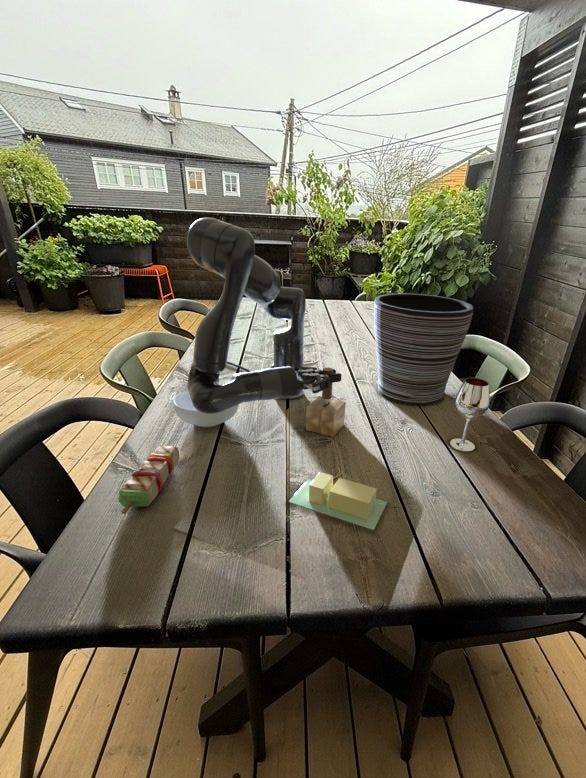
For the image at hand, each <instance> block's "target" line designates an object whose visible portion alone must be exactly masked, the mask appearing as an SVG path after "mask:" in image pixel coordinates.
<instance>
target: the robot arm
mask: <svg viewBox="0 0 586 778" xmlns="http://www.w3.org/2000/svg"><path fill="white" fill-rule="evenodd" d="M186 245H187V246H186V247H187V250H188V253H189V255H190V257H191V259H192V260H193V261H194V263H195V264H196V265H198V266H199V267H200V268H203V269H204V270H207V271H210V272H212V273H215V274H216V275H218V276H220V277H222V278H223V279H224V281H223V282H224V283H223V289H222V293H221V295H220V297H219V299H218V300H217V302H216V303H215V304H214V306H213V307H212V308H211V309H210V310H209V312H207V314H206V315H204V317H203V318H202V319H201V321H200V323H199V324H198V326H197V329H196V331H195V332H196V333H195V337H194V344H193V345H194V346H193V359H192V363H191V365H190V369H189V372H188V376H187V390H188V392H189V395H190V398H191V401H192V404H193V406H194V407H195V409H196V410H198V411H199V412H202V413H207V414H213V413H218V412H221V411H224V410H226V409H229V408H231V407H234V406H236V405H238V404H239V405H240V404H243V403H250V402H256V401H257V402H258V401H271V400H276V399H283V400H295V399H299V398H301V397H302V396H303V395H304V391H305V390H311V392H312V394H318V393H320V392H322V390H325V389H327V388H329V383H332V384H333V383H341V381H342V373H340V372H337V370H336V369H335V368H332V369H333V374H328V375H327V374H326V375H323V369H321V368H318V367H315V366H304V340H305V339H304V337H305V322H306V321H305V319H306V304H307V303H306V302H307V300H306V299H307V298H306V294H305V291H304V290H303V289H302V288H299V287H289V286H282V282H281V278H280V276H279V274H278V272H277V271H276V270H275V269H274V268H273V267H272V266H271V264H269V263H268V262H267V261H266V260H264V259H263V258H261V257H259V256H258V255H256V244H255V239H254V236H253V235H252V233H251V232H250V231H249V230H247V229H245V228H242V227H239V226H238V225H234V224H232V223H228V222H226V221H223V220H221V219H217V218H215V217H201V218H199V219H196V220H195V221H194V222H193V223H192V224H191V225H190V227H189V229H188V231H187V235H186ZM244 296H245V297H246V298H248V299H250V300H251V301H253V302H254V303H256V304H257V305H259V306H260V307H261V308H262V309H263V310H264V311H265V313H267V314H268V316H270V317H271V318H273V319H276V320H285V321H290V326H287V327H285V328H280V329H277V330H276V331H274V332H273V333H272V334H273V335H272V351H273V353H272V354H273V359H272V360H273V364H271V365H270V367H269V368H263V369H259V370H255V371H253V370H250V369H248V368H247V367H244V366H242V365H239V364H236V363H234V362H231V361H228V357H229V350H230V344H231V338H232V333H233V330H234V327H235V322H236V319H237V316H238V313H239V309H240V306H241V303H242V301H243V297H244ZM227 365H230V366H232V367H235V368H238V369H241V370H242V371H244V372H238V373H234V374H233V375H232V376H231V378H230V381H229V382H227V383H224V384H220V374H221V373H222V372H223V371H224V370H225V369H226V367H227ZM239 405H238V406H239Z"/></svg>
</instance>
